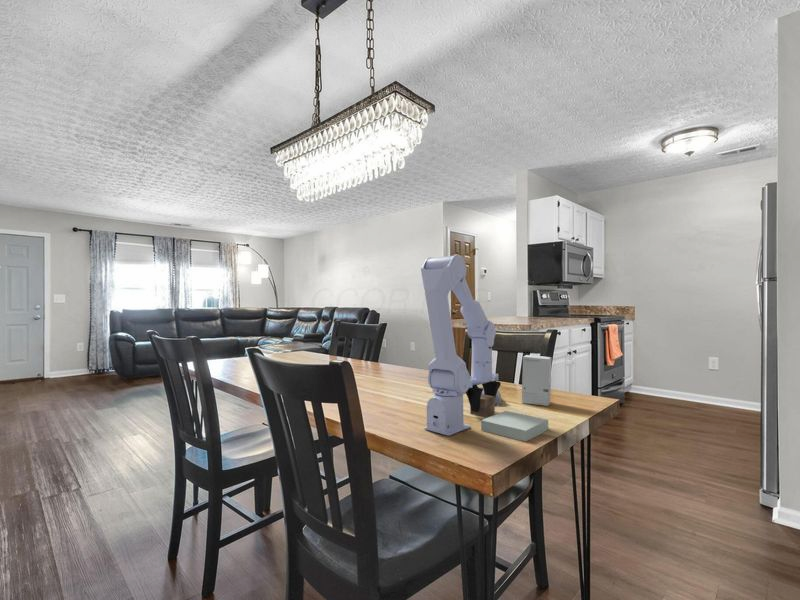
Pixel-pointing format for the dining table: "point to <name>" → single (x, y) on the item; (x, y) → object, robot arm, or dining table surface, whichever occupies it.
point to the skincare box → (536, 380)
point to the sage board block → (515, 425)
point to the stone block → (497, 398)
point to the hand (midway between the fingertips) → (482, 408)
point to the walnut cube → (485, 406)
